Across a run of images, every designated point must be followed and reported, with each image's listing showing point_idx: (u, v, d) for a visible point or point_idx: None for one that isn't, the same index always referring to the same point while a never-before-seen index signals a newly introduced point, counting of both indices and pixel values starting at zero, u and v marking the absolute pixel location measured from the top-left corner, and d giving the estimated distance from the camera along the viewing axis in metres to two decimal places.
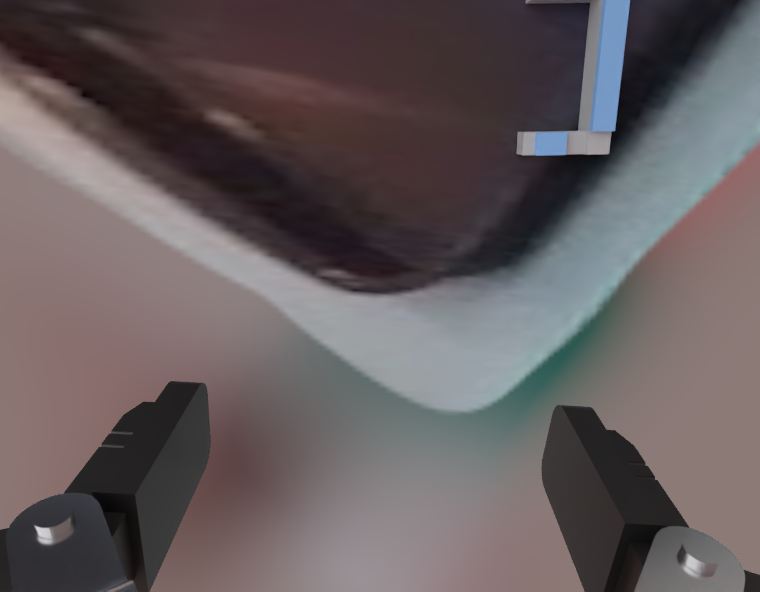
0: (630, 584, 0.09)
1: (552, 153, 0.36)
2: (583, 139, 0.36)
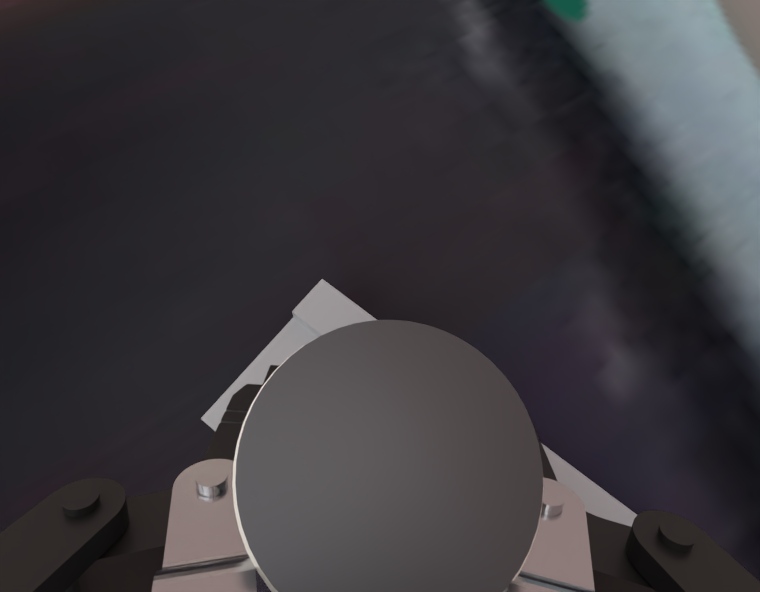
0: None
1: None
2: None
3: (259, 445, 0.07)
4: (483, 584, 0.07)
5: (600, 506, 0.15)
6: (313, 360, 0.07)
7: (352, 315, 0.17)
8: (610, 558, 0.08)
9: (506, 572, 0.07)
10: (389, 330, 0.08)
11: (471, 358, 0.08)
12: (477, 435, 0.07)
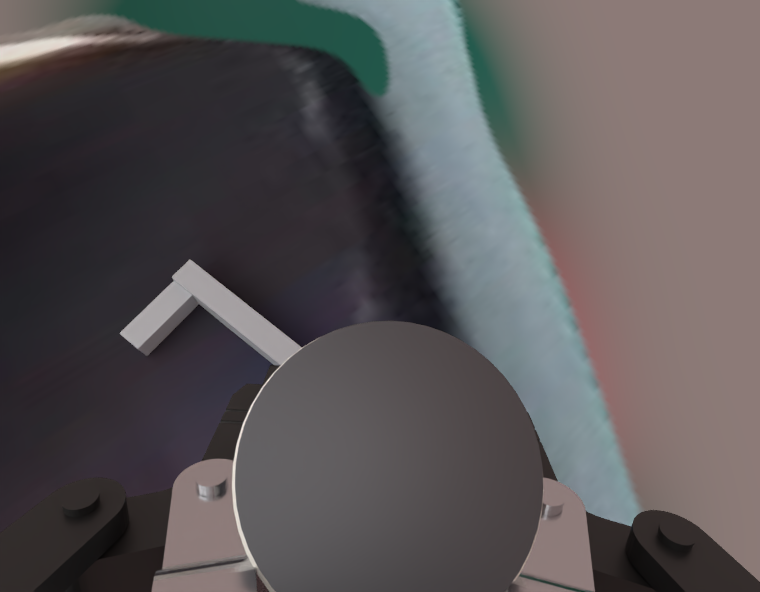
0: None
1: None
2: None
3: (258, 447, 0.07)
4: (483, 586, 0.06)
5: None
6: (313, 361, 0.07)
7: (204, 279, 0.32)
8: (610, 558, 0.08)
9: (506, 574, 0.07)
10: (389, 331, 0.08)
11: (471, 359, 0.08)
12: (477, 437, 0.07)
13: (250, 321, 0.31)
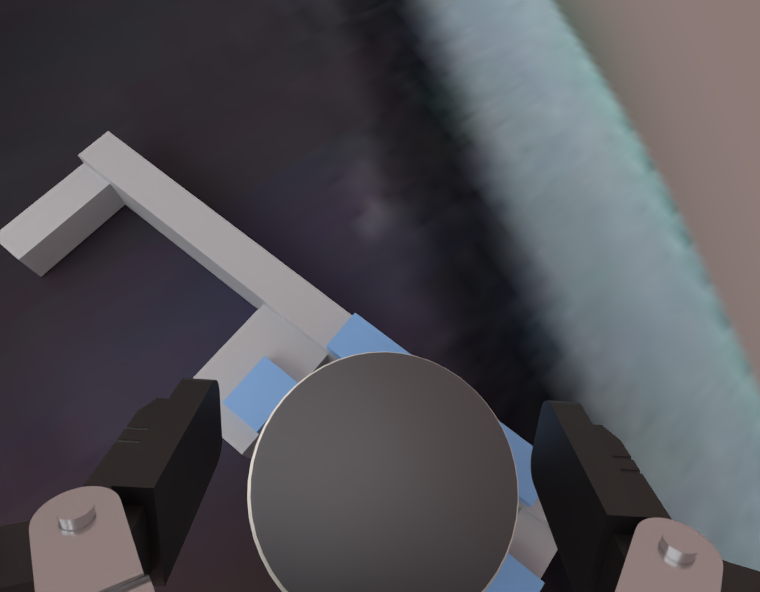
0: (613, 575, 0.09)
1: None
2: (535, 523, 0.17)
3: (271, 464, 0.08)
4: (464, 585, 0.08)
5: (309, 299, 0.19)
6: (317, 389, 0.09)
7: (129, 158, 0.21)
8: None
9: (484, 575, 0.08)
10: (384, 362, 0.09)
11: (456, 387, 0.09)
12: (460, 455, 0.08)
13: (195, 219, 0.20)
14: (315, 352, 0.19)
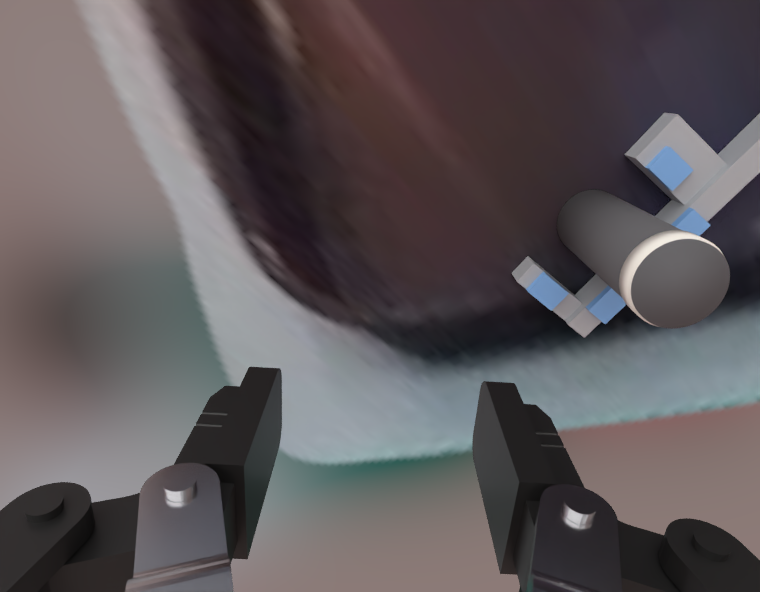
0: (525, 538, 0.09)
1: (542, 301, 0.33)
2: (574, 308, 0.34)
3: (696, 247, 0.22)
4: (643, 309, 0.23)
5: (724, 195, 0.30)
6: (720, 262, 0.22)
7: None
8: (643, 567, 0.08)
9: (644, 315, 0.23)
10: (724, 286, 0.23)
11: (708, 311, 0.23)
12: (683, 311, 0.23)
13: None
14: (687, 197, 0.31)
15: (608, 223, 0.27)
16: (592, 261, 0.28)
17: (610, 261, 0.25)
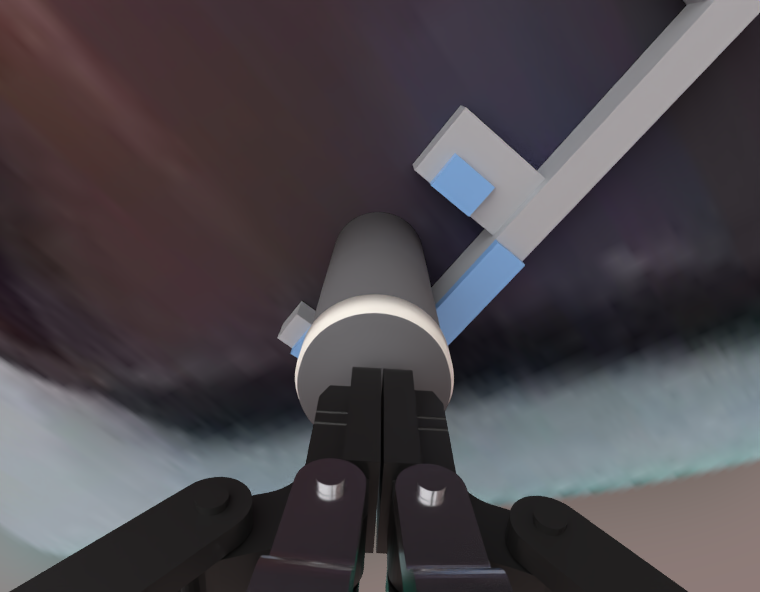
0: (390, 517, 0.10)
1: None
2: None
3: (383, 328, 0.13)
4: None
5: (543, 223, 0.21)
6: (429, 352, 0.14)
7: (735, 23, 0.19)
8: (488, 542, 0.09)
9: None
10: (444, 388, 0.14)
11: None
12: None
13: (643, 109, 0.20)
14: (495, 225, 0.22)
15: (334, 271, 0.18)
16: None
17: None
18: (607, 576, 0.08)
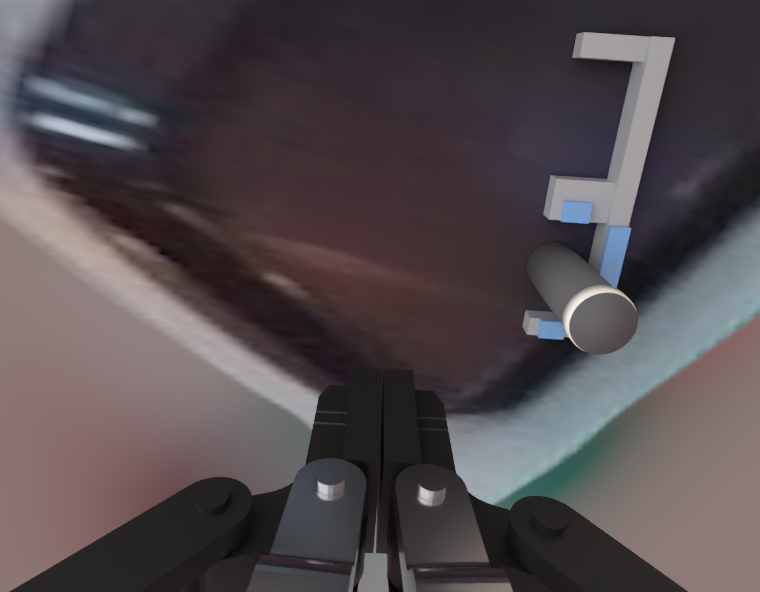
0: (390, 517, 0.10)
1: (552, 337, 0.43)
2: None
3: (595, 301, 0.32)
4: (591, 350, 0.33)
5: (627, 203, 0.39)
6: (617, 300, 0.32)
7: (662, 64, 0.35)
8: (488, 542, 0.09)
9: (594, 352, 0.33)
10: (632, 309, 0.32)
11: (634, 327, 0.33)
12: (617, 336, 0.33)
13: (643, 126, 0.37)
14: (604, 218, 0.40)
15: (548, 289, 0.37)
16: None
17: None
18: (607, 576, 0.08)
